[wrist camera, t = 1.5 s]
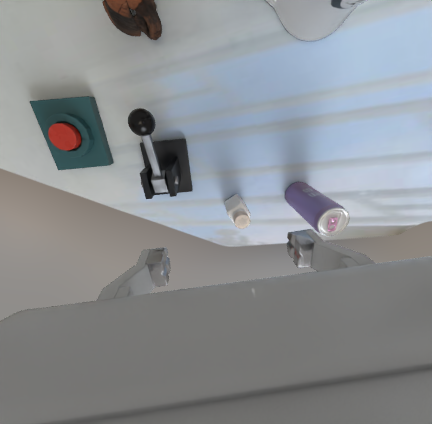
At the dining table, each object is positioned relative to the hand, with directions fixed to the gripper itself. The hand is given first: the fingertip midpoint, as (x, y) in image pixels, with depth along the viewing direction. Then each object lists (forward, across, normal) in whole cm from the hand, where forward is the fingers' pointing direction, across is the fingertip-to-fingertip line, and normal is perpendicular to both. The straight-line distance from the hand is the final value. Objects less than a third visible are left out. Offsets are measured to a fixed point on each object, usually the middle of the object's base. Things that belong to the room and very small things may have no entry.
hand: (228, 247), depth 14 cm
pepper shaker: (+34, -5, +11) cm, 36 cm away
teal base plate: (+33, +24, -7) cm, 42 cm away
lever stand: (+33, +8, +1) cm, 34 cm away
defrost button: (+30, +24, -7) cm, 39 cm away
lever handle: (+22, +8, -4) cm, 24 cm away
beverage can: (+33, -20, +10) cm, 40 cm away
